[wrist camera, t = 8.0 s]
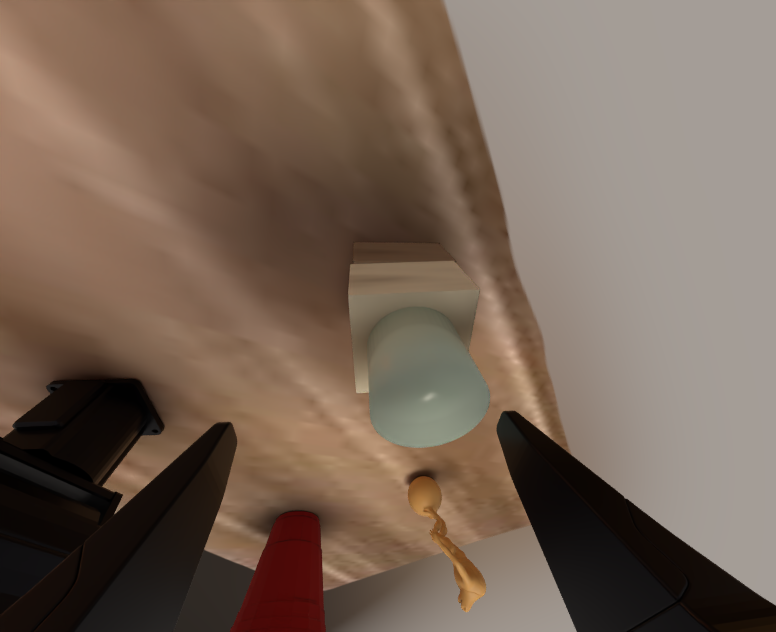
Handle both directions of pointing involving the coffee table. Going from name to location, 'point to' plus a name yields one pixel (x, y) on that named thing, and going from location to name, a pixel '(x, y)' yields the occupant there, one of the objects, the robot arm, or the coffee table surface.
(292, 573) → the plastic cup
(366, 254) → the walnut block
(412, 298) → the birch block
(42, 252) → the coffee table surface
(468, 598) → the figurine
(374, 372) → the stubby sage cylinder
